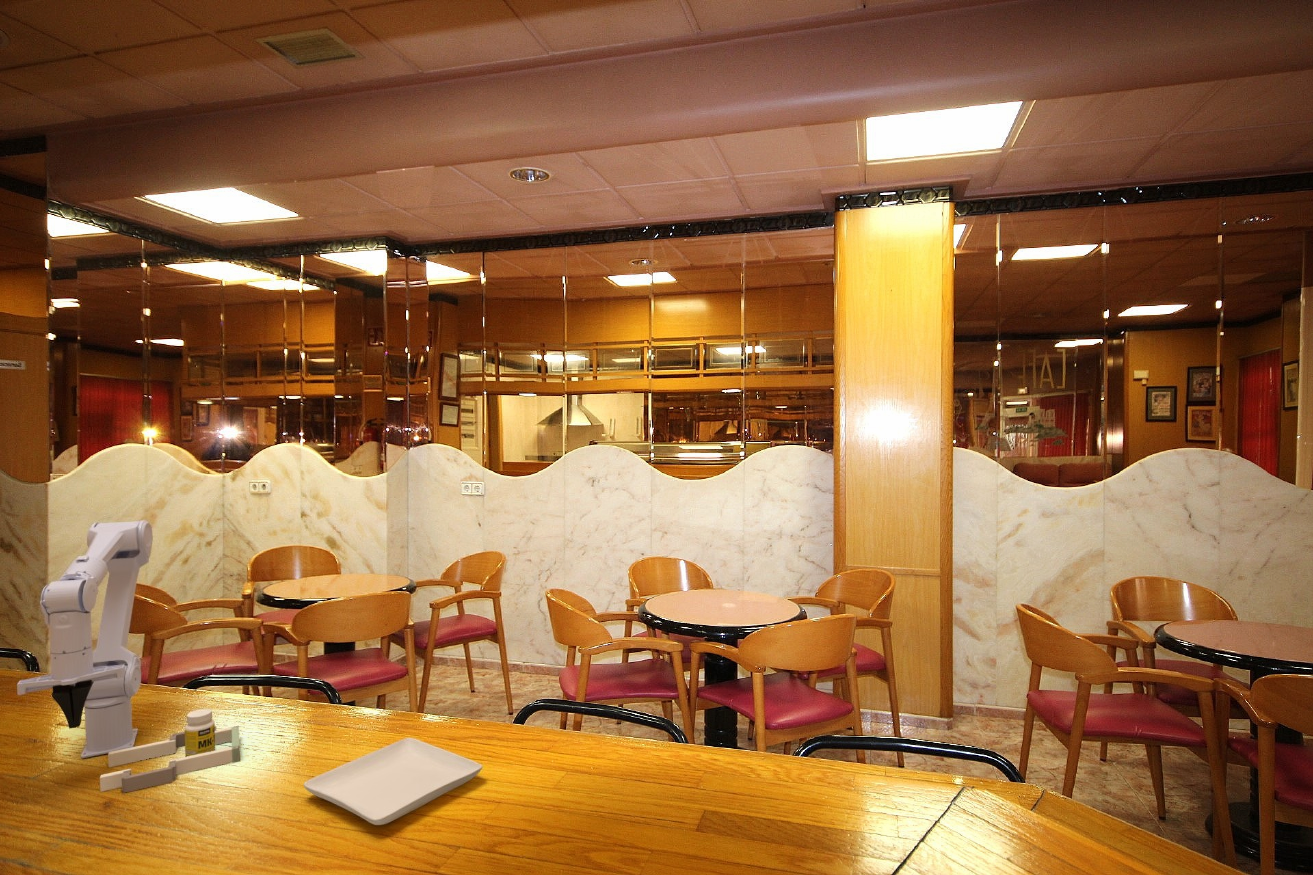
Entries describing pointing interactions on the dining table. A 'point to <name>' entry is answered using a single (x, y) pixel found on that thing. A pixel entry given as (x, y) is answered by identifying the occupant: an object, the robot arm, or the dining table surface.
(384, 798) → the salad plate
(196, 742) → the supplement bottle
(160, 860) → the dining table surface
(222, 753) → the beige piece
